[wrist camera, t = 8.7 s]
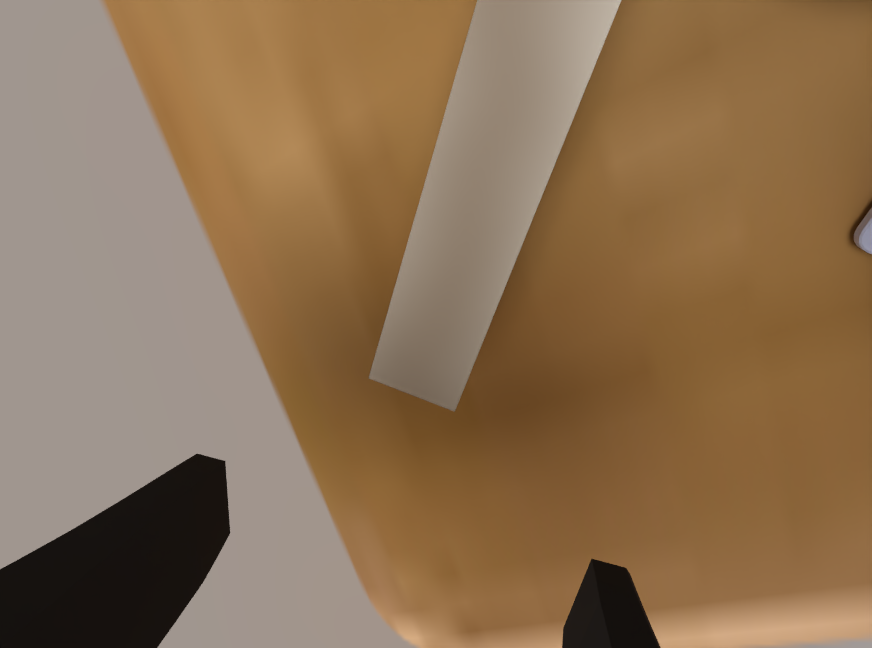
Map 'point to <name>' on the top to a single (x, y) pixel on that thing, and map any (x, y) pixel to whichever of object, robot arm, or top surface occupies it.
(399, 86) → the top surface
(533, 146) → the grey rectangular block
